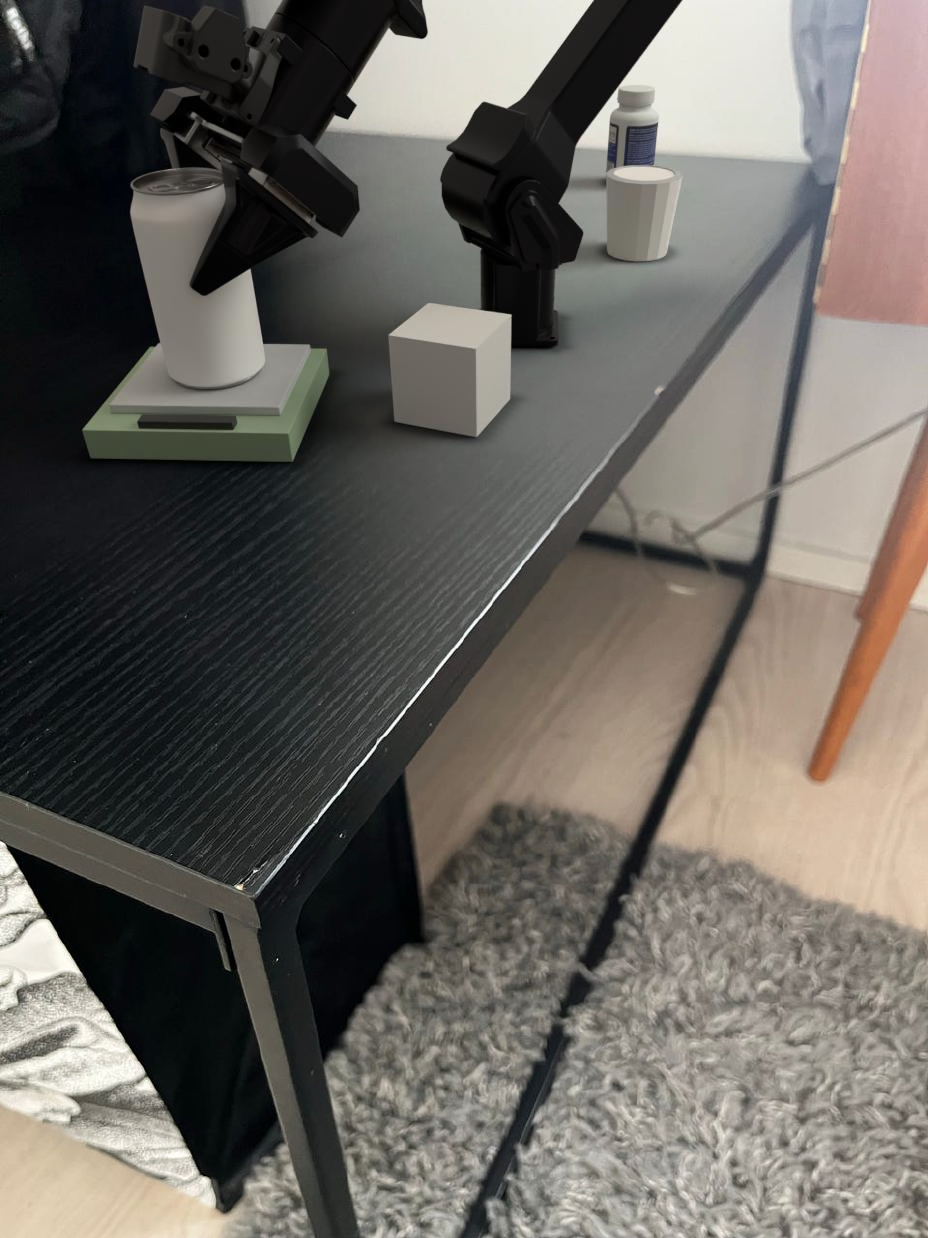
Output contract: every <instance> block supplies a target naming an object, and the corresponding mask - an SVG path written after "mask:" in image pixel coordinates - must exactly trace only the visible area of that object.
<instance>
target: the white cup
mask: <svg viewBox="0 0 928 1238" xmlns="http://www.w3.org/2000/svg"><path fill="white" fill-rule="evenodd" d="M683 177H684V175H683V173H682V172H681V171H679V170H677V169H675V168H671V167H668V166H662V165H654V166H653V165H629V166H621V167H617V168H614V169H610V170H609V171H608V172H607V173H606V172H605V184H606V185H605V186H606V191H605V192H606V193H605V194H606V252H607V254H608V255H609V256H611V257H613V258H615V259H618V260H622V261H629V262H651V261H656V260H657V261H658V260H660V259H662V258H664V257H665V256H666V255H667V254H668V250H669V246H670V245H669V244H670V239H671V235H672V229H673V225H674V219H675V215H676V212H677V211H676V210H677V207H678V206H677V205H678V201H679V196H680V191H681V186H682V181H683Z"/></svg>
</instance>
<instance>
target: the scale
mask: <svg viewBox="0 0 928 1238" xmlns="http://www.w3.org/2000/svg"><path fill="white" fill-rule="evenodd" d="M263 347H264V354H265V363H264V365H263V367H262V368H261V370H260V372H259V373H258V374H257V375H256V376H255V377H253V378H252V379H250V380H248V381H246V382H244V383H241V384H238V385H235V386H231V387H226V388H220V389H193V388H188V387H185V386H182V385H180V384H179V383H177V382H176V381H175V380H174V379H172V378H171V377H170V375H169V374H168V371H167V367H166V363H165V359H164V355H163V351H162V347H161V343H160V342H158V343H157V344H156V346H149V347H148V349H147V350H146V351H145V353H144V354H143V355H142V356H141V357H140V359H139V360H138V361H137V362H136V363H135V365H134V366H133V367H132V368H131V370H130V371H129V372H128V374H126V376H125V377H124V378H123V380H122V381H121V382H120V383H119V384H118V385H117V386H116V388H115V389H114V390H113V392H112V393H111V394H110V395H109V397H108V398H107V399H106V400H105V401H104V403H103V404H102V405H101V406H100V408H99V409H98V410H97V411H96V412H95V414H94V415H93V416H92V417H91V419H89V421H88V422H87V424H85V426H84V427H83V428H82V430H81V432H82V434H83V437H84V440H85V445H86V448H87V451H88V454H89V458H90V459H104V460H105V459H110V460H112V459H113V460H119V459H120V460H158V461H159V460H163V461H164V460H165V461H166V460H167V461H215V462H216V461H219V462H221V461H222V462H224V461H225V462H270V463H271V462H272V463H273V462H275V463H279V462H280V463H293V462H294V461H295V457H296V455H297V452H298V450H299V448H300V446H301V443H302V441H303V438H304V436H305V433H306V431H307V429H308V427H309V424H310V422H311V419H312V417H313V415H314V412H315V411H316V410H315V409H316V407H317V405H318V403H319V400H320V398H321V396H322V393H323V392H324V388H325V386H326V384H327V381H328V379H329V377H330V366H329V359H328V349H327V348H311V345H310V344H306V343H304V344H302V343H301V344H300V343H299V344H298V343H297V344H296V343H263Z"/></svg>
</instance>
